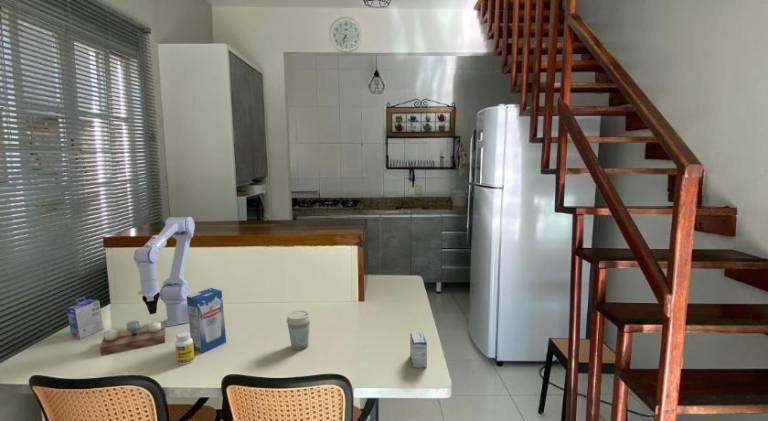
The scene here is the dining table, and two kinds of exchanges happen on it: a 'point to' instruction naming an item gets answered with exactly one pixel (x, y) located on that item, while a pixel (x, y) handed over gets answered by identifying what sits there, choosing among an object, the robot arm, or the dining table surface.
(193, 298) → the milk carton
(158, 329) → the knob
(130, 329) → the middle knob
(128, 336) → the knob panel
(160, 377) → the dining table surface
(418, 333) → the medicine box
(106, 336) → the knob
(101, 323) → the ink cartridge box
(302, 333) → the coffee cup
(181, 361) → the supplement bottle
